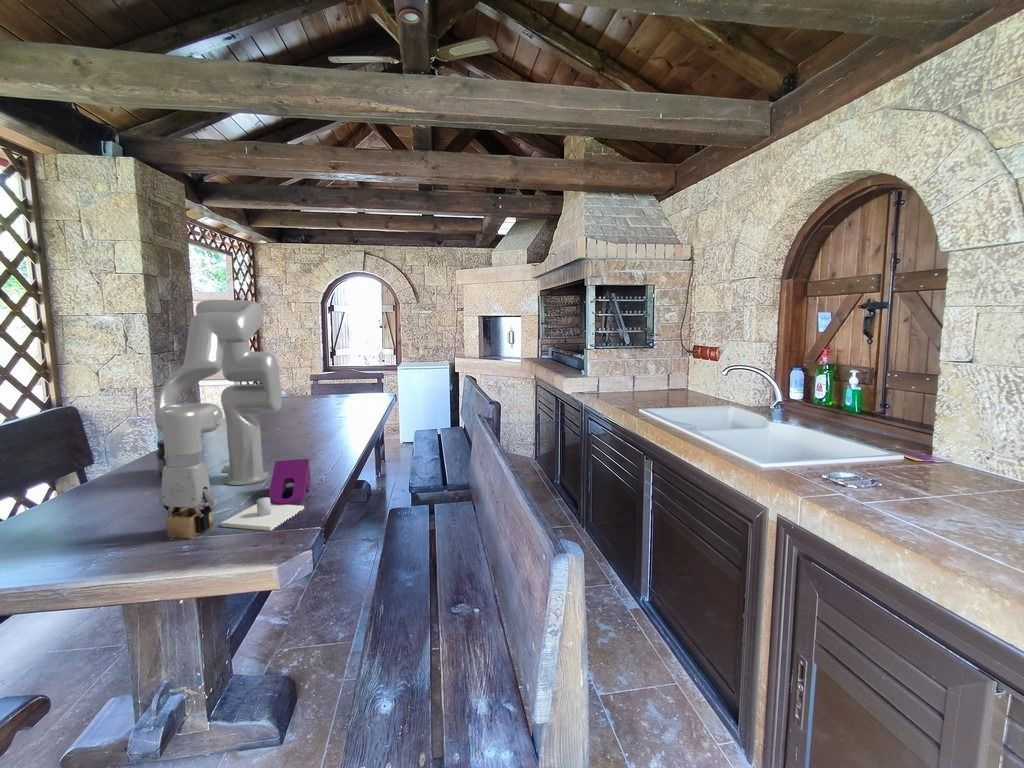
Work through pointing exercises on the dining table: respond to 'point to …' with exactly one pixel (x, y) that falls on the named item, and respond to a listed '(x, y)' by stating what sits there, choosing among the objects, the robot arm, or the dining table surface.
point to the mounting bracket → (290, 481)
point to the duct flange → (262, 515)
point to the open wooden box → (184, 523)
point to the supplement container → (160, 457)
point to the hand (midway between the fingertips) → (190, 529)
